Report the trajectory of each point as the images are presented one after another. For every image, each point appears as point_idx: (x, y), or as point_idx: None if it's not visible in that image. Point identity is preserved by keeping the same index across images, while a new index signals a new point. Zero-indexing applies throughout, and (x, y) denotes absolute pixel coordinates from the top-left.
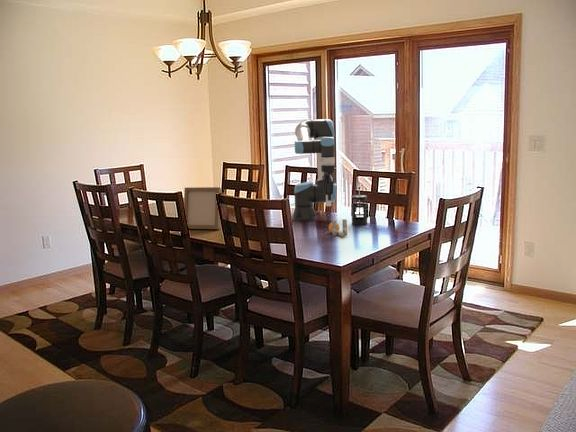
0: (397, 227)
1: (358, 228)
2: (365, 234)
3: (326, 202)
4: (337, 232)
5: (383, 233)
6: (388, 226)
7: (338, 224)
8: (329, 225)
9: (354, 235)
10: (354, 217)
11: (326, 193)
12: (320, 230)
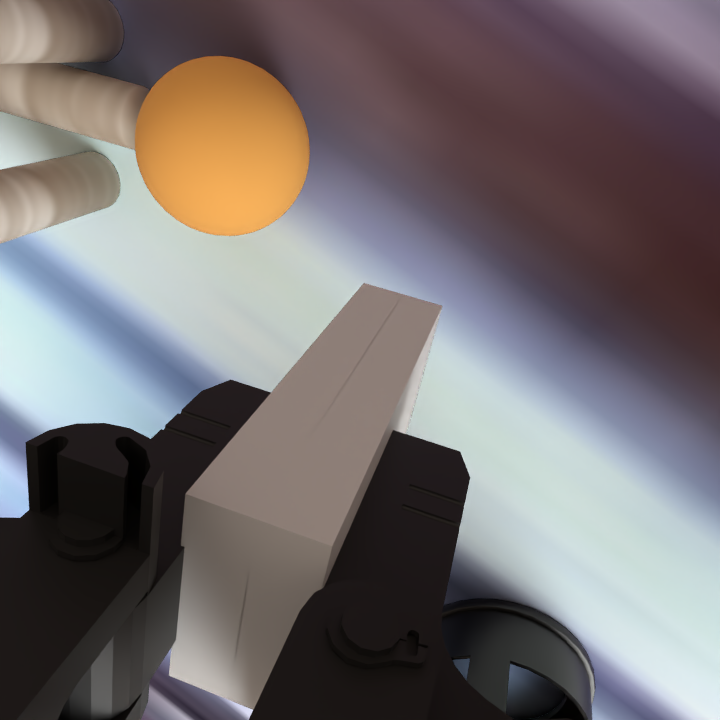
0: (155, 708)
1: None
2: (24, 359)
3: (372, 338)
4: (64, 73)
5: (3, 493)
6: (225, 704)
7: (181, 221)
8: (216, 70)
9: (23, 244)
10: (479, 679)
11: (298, 630)
12: (526, 61)
